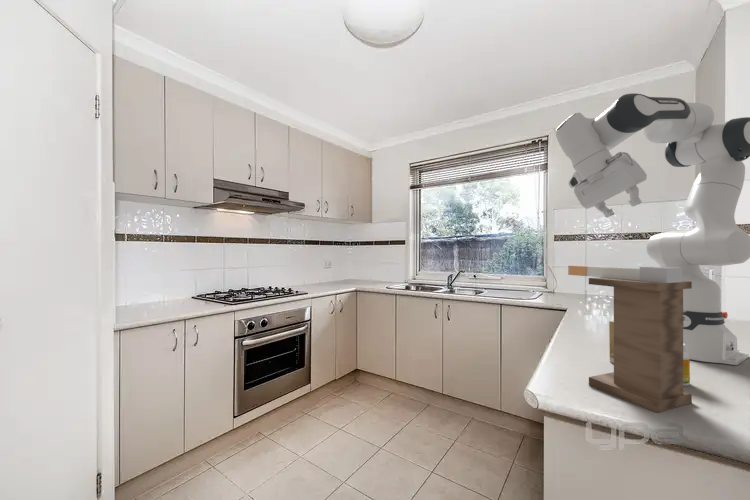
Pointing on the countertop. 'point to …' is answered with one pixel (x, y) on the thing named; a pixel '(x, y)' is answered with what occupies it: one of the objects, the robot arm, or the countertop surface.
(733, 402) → the countertop surface
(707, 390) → the countertop surface
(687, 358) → the supplement bottle
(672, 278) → the grey tan flat bar
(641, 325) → the stand
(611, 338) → the skincare box
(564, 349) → the countertop surface
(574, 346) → the countertop surface
